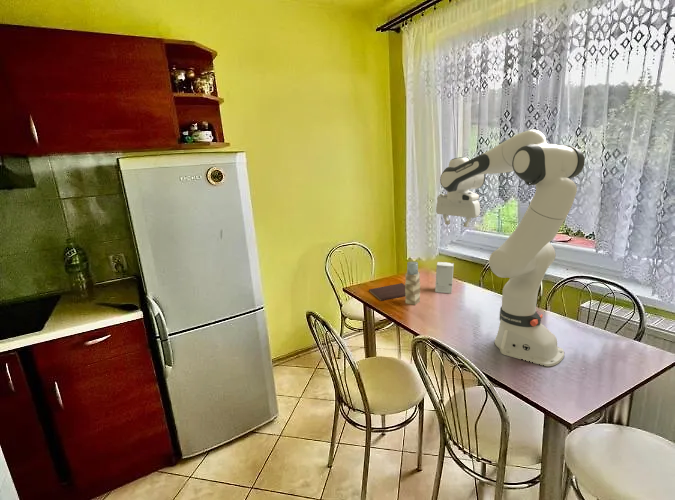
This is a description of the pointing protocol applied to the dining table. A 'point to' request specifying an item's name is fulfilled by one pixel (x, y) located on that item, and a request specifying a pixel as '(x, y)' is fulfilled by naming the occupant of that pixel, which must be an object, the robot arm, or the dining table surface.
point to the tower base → (412, 299)
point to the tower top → (412, 279)
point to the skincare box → (444, 277)
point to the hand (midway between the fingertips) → (456, 225)
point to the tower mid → (412, 289)
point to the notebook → (389, 292)
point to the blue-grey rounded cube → (412, 268)
